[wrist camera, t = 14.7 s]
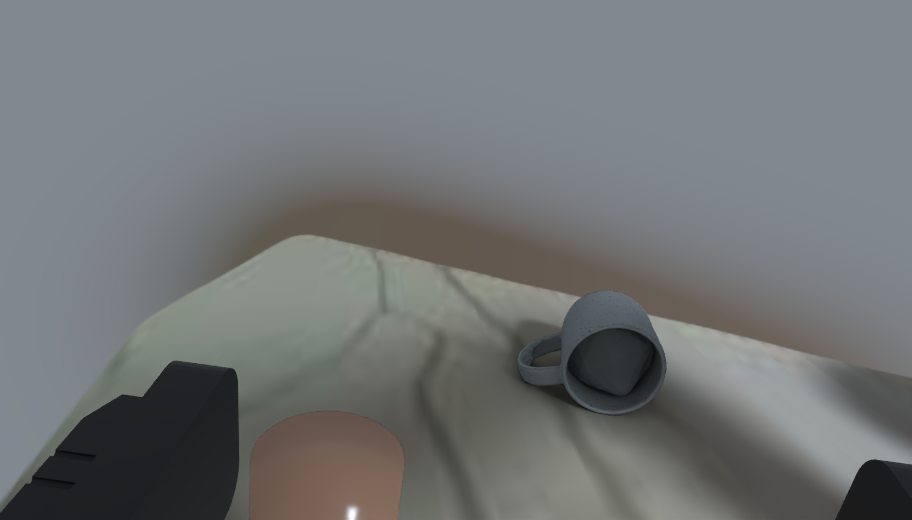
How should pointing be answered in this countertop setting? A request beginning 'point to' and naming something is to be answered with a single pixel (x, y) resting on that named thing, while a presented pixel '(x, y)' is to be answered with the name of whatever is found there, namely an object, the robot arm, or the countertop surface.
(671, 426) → the countertop surface
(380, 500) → the canister
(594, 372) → the ceramic mug
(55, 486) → the robot arm
